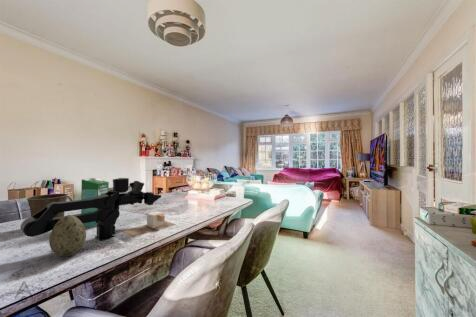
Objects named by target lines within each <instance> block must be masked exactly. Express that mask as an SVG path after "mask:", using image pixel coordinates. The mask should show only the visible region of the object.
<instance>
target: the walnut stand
mask: <svg viewBox="0 0 476 317" xmlns="http://www.w3.org/2000/svg"><path fill="white" fill-rule="evenodd" d="M175 225H177V224H176V223H173V222H170V221H167V220H165V221H164V225H163V226H159V227H156V228H151V227H149V226H147V224H143V225H140V226H135V227H132V228H129V229H126V230H125V229H124V230H121V232H122V233H124V234H126V235H129V236H131V237H133V238H135V237H138V236H143V235H145V234H148V233H149V234H150V233H152V232H156V231H159V230H162V229H166V228H169V227H172V226H175Z"/></svg>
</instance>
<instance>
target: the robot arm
mask: <svg viewBox="0 0 476 317" xmlns="http://www.w3.org/2000/svg"><path fill="white" fill-rule="evenodd" d="M129 180H130V178H128V177H119V178H114V179H113V178H112V189H109V191H108V192H107V193H106V194H103V195H99V196H96V197H93V198H90V199H82V200H81V199H75V200H66V201H64V202H52V203H49V204H48V205H47V206H46V207H45V208H43V209H42V210H40V211H39V212H37V213H36V214H35V215H34V216H32V217H31V216H30V217H28V218H26V219H24V220H23V221H22V222H21V224H20V230H21V232H22V233H23V234H24V235H25V236H27V237H29V238H31V237H32V238H33V237H38V236H41V235H44V234H47V233H49V232H52V229H53V228H54V226H55V224H56V223H57V222H58V221H59V220H60V219H61V218H62V217H64V216H65V215H64V216H62V217H55V216H56V215H57V214H58V213H59V212H64V213H66V212H72V211H81V209H88V208H98V210H96V211H94V212H88V213H82V214H81V213H75V214H72V215H73V216H75V217H77V218H78V219H79V220H80V221H81V222H82V223H88V222H93V221H96V223H98V225H97V227H96V235H95V237H94V238H95V239H96V240H97V241H99V242H102V241H105V240H108V239H112V238H115V237H116V236H114V235H116V222H117V220H118V218H119V217H120V215H121V214H120V207H121V206H127V205H131V206H134V205H135V204H143V203H144V204H145V205H147V206H153V205H154V203H156V202H157V201H158V200H159V199H161V198H162V194H155V193H154V192H153V191H145V192H144V191H142V190H143V188H144V186H145V183H144V182H142V181H141V180H140V181H139V180H134V181H132V182H130V181H129ZM129 187H130V188H129ZM129 190H130V191H129ZM54 217H55V218H54Z"/></svg>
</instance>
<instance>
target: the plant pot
mask: <svg viewBox="0 0 476 317" xmlns="http://www.w3.org/2000/svg"><path fill="white" fill-rule="evenodd" d="M68 196H69V194H68V193H50V194H41V195H40V194H39V195H33V196H29V197H27V198H26V200H27V203H28V207H29V211H30V212H29V213H30V218H31V217H32V216H34V215H35V214H36V213H37V212H39V211H40V210H42V209H43V208H45V207H46V206H47V205H48V204H49V203H52V202H64V201H68V200H67V198H68ZM62 216H65V212H59V213H58V214H57V215H56V216H55V217H62ZM55 217H54V218H55Z"/></svg>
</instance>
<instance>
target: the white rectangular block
mask: <svg viewBox="0 0 476 317" xmlns="http://www.w3.org/2000/svg"><path fill="white" fill-rule="evenodd" d="M165 218H166V216H165V213H164V212H161V211H150V212H147V213H146V225H147V226H149V227H151V228H156V227H159V226H163V225H164V221H166V220H165Z"/></svg>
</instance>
